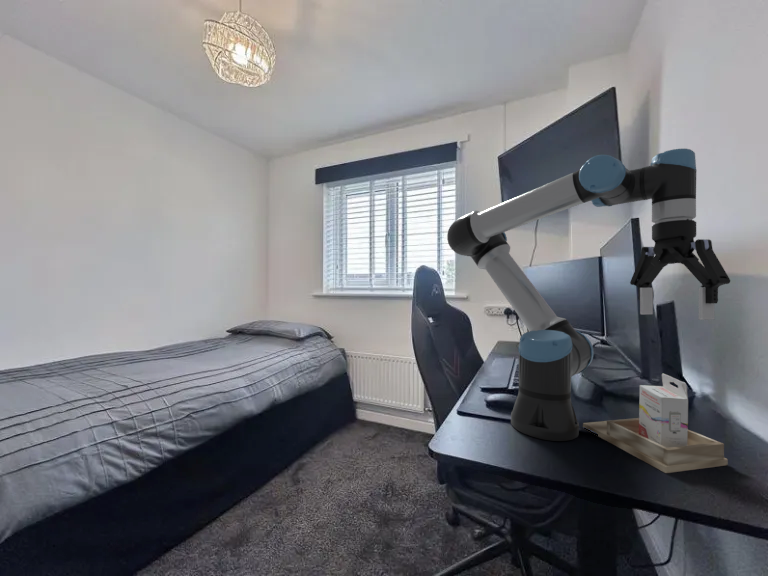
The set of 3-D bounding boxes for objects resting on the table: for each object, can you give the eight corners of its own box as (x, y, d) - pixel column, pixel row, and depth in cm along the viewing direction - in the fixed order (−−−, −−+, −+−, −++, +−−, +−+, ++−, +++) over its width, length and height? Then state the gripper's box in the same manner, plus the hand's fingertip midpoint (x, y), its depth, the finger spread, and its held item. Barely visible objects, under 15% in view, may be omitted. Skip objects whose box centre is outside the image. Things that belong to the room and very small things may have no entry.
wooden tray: (582, 427, 82) (583, 410, 82) (633, 423, 85) (633, 406, 85) (665, 473, 63) (666, 451, 63) (727, 465, 66) (728, 444, 66)
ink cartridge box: (636, 435, 76) (638, 371, 76) (661, 437, 75) (663, 372, 75) (660, 454, 67) (661, 382, 67) (688, 457, 66) (690, 383, 66)
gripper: (756, 209, 63) (756, 322, 63) (639, 231, 87) (639, 312, 87) (721, 208, 62) (721, 323, 62) (613, 231, 87) (613, 312, 87)
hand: (673, 317), depth 75 cm, fingers open, 13 cm apart
